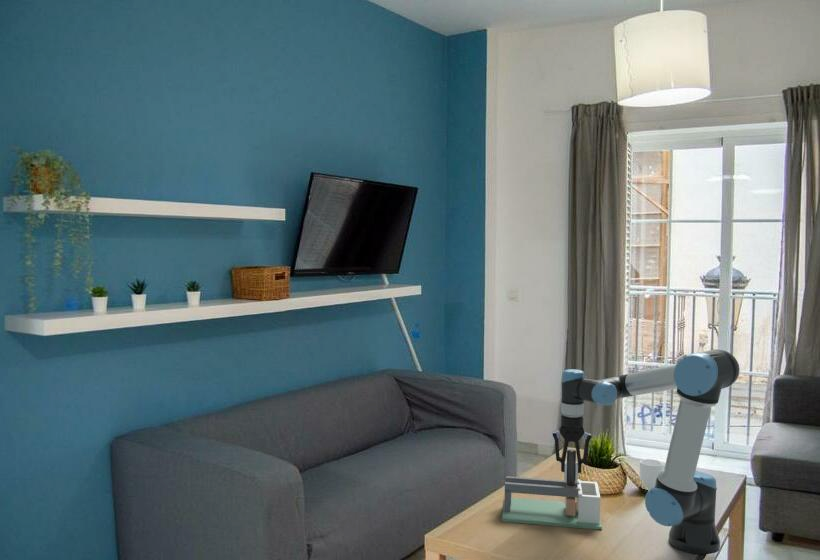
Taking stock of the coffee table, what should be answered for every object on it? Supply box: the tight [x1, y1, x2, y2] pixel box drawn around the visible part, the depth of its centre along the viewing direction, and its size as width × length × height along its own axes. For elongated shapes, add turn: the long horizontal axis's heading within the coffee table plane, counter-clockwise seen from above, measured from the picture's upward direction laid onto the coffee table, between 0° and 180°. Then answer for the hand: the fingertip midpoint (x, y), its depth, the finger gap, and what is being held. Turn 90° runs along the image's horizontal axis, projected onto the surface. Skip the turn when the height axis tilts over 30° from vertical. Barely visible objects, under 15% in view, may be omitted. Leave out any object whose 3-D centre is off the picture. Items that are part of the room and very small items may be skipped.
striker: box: [564, 449, 577, 516], centre depth 246 cm, size 10×3×21 cm, turn 169°
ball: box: [575, 500, 579, 512], centre depth 246 cm, size 5×5×5 cm
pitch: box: [501, 475, 603, 530], centre depth 248 cm, size 20×33×11 cm, turn 79°
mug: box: [639, 458, 665, 490], centre depth 275 cm, size 12×8×10 cm
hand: (570, 481), depth 246 cm, fingers closed on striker, 3 cm apart
